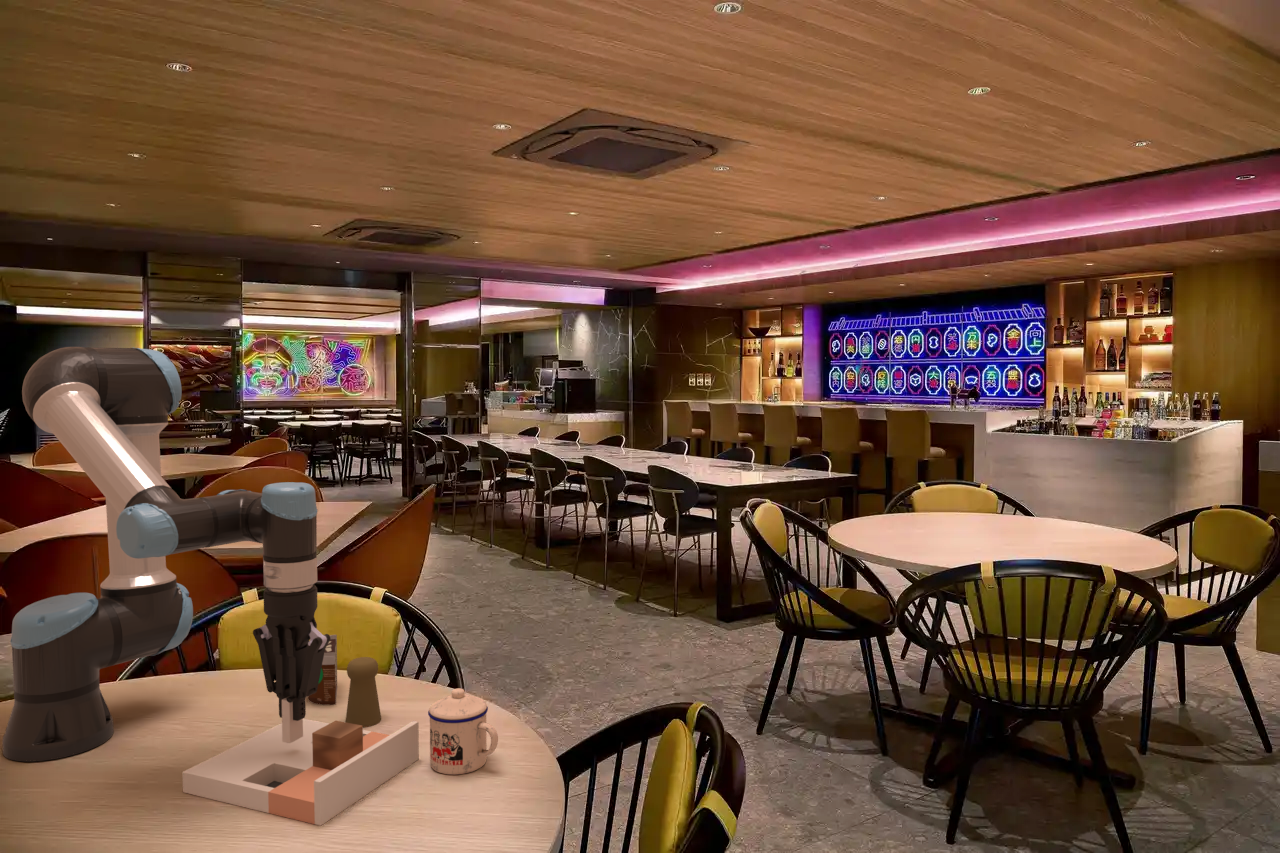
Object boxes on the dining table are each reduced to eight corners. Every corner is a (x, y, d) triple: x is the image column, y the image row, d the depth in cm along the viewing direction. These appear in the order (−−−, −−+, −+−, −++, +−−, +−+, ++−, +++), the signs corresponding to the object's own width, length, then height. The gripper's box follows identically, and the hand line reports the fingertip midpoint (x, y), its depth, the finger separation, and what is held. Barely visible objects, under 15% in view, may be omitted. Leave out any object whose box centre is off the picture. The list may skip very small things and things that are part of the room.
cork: (370, 729, 150) (369, 666, 149) (338, 726, 151) (337, 663, 150) (387, 715, 156) (386, 654, 155) (356, 712, 157) (355, 652, 156)
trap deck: (182, 792, 127) (181, 751, 127) (294, 734, 148) (293, 699, 147) (320, 825, 118) (319, 782, 118) (418, 759, 139) (418, 721, 138)
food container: (303, 687, 169) (302, 636, 169) (337, 684, 171) (336, 633, 171) (299, 711, 158) (298, 656, 157) (335, 707, 160) (334, 653, 159)
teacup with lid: (416, 768, 135) (415, 694, 135) (455, 746, 143) (454, 676, 143) (477, 786, 130) (477, 708, 129) (514, 762, 138) (514, 689, 137)
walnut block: (312, 766, 129) (312, 733, 129) (336, 752, 134) (335, 720, 133) (340, 772, 127) (339, 738, 127) (363, 758, 132) (362, 725, 132)
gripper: (237, 587, 131) (240, 741, 132) (307, 596, 126) (309, 756, 128) (275, 576, 138) (277, 723, 139) (342, 585, 133) (344, 736, 135)
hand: (292, 739), depth 134 cm, fingers closed
